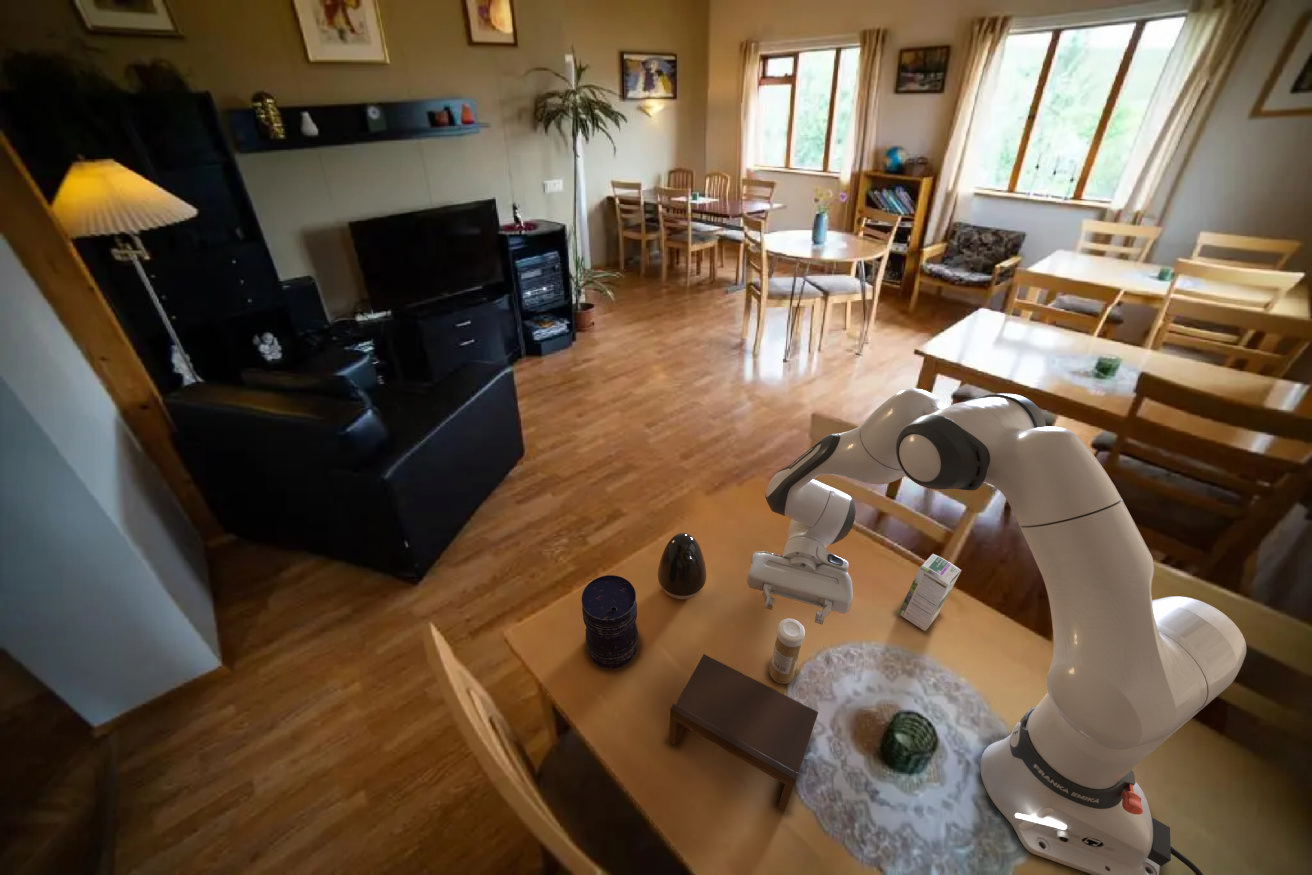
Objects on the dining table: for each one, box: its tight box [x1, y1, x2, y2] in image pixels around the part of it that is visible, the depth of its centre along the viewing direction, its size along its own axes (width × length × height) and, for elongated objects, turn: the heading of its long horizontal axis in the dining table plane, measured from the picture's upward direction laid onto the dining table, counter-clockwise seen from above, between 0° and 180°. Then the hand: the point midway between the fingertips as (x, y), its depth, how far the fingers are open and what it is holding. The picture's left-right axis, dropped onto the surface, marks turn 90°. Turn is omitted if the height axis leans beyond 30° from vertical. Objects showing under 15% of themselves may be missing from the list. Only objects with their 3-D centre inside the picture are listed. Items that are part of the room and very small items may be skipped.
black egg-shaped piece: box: [657, 532, 707, 600], centre depth 110 cm, size 10×10×15 cm
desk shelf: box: [669, 653, 819, 812], centre depth 85 cm, size 20×12×11 cm, turn 60°
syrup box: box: [898, 553, 962, 632], centre depth 104 cm, size 6×6×14 cm
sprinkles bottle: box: [768, 618, 806, 685], centre depth 94 cm, size 5×5×14 cm
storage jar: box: [581, 574, 639, 670], centre depth 98 cm, size 10×10×15 cm
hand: (793, 614), depth 100 cm, fingers open, 8 cm apart
